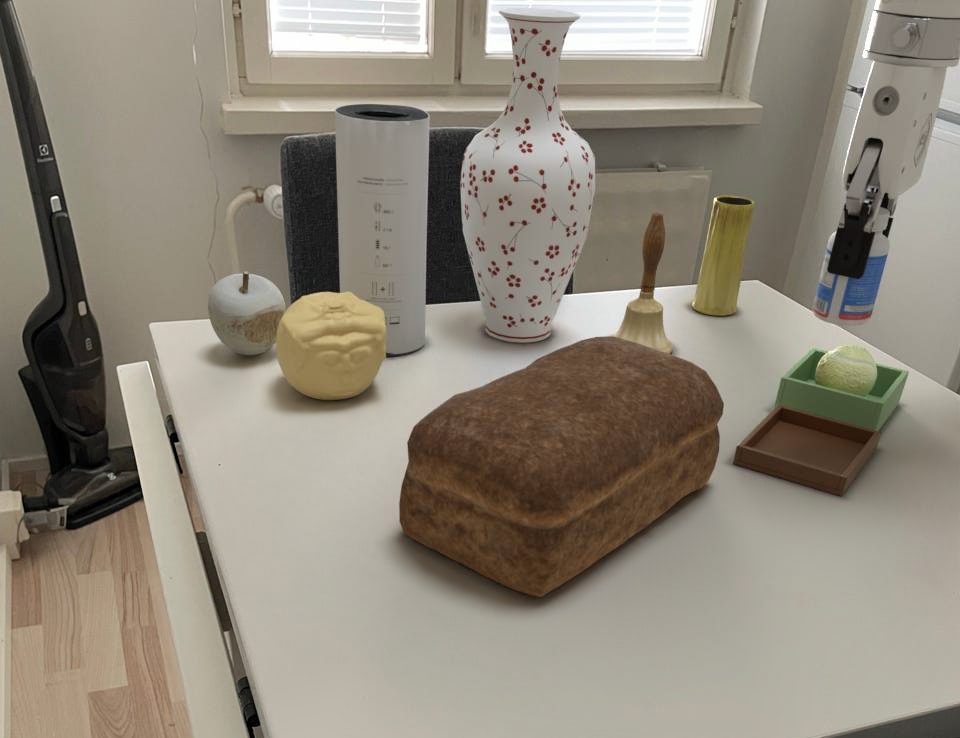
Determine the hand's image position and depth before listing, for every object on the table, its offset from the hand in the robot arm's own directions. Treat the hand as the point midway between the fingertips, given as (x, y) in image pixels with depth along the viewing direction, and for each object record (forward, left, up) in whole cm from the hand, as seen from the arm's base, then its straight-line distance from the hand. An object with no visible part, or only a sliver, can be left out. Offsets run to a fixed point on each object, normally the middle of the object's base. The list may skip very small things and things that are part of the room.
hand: (854, 265), depth 92 cm
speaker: (+53, +3, -19) cm, 56 cm away
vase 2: (+25, -36, -19) cm, 48 cm away
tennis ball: (+1, -14, -19) cm, 23 cm away
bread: (+15, +26, -19) cm, 35 cm away
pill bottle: (0, 0, -5) cm, 5 cm away
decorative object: (+63, +16, -19) cm, 67 cm away
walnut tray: (0, +1, -19) cm, 19 cm away
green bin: (+1, -14, -19) cm, 23 cm away
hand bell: (+27, -16, -19) cm, 37 cm away
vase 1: (+42, -11, -19) cm, 47 cm away
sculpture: (+49, +18, -19) cm, 55 cm away
